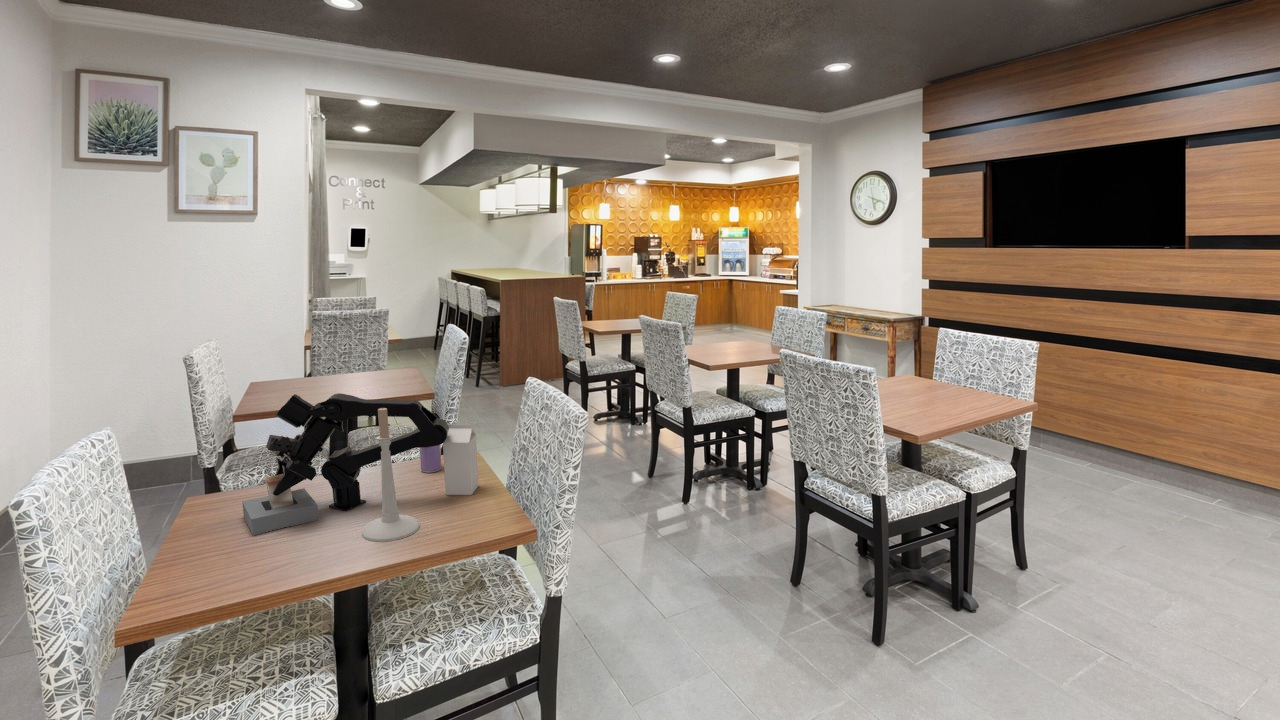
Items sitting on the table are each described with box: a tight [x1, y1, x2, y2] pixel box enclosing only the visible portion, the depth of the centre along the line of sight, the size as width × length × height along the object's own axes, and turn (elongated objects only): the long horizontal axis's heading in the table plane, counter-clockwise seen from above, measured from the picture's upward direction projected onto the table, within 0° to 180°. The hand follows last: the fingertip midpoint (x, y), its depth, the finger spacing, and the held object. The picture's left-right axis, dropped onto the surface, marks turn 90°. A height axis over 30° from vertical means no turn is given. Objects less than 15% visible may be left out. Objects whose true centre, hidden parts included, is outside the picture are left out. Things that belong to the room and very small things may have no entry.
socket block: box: [242, 488, 319, 536], centre depth 158 cm, size 14×14×4 cm
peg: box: [264, 474, 294, 510], centre depth 157 cm, size 4×4×10 cm
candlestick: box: [361, 408, 421, 542], centre depth 149 cm, size 13×13×30 cm
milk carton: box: [442, 423, 479, 496], centre depth 175 cm, size 7×7×19 cm
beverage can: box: [419, 445, 442, 474], centre depth 192 cm, size 6×6×15 cm
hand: (272, 492), depth 156 cm, fingers closed on peg, 4 cm apart
